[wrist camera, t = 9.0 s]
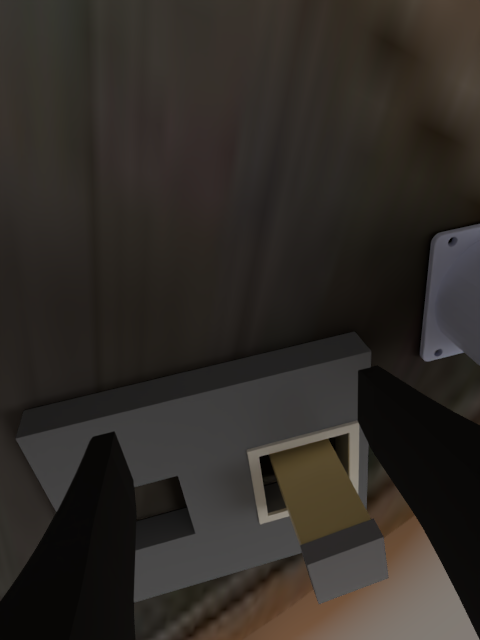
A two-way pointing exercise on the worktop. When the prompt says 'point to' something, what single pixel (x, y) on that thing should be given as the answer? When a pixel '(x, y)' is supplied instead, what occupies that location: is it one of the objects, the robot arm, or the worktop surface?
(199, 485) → the socket panel
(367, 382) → the robot arm
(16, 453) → the worktop surface
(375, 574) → the plug
